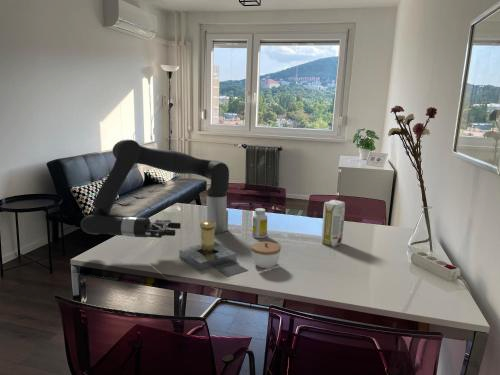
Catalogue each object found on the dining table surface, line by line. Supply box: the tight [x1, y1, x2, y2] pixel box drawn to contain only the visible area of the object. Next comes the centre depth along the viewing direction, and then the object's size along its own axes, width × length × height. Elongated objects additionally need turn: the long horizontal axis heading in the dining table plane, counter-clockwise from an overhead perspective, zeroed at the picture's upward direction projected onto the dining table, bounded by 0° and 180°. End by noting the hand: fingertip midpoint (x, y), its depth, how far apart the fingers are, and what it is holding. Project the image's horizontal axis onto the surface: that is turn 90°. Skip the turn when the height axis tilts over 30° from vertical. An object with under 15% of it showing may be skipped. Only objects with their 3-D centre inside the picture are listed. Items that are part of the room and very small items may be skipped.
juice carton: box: [321, 199, 346, 247], centre depth 166 cm, size 8×9×19 cm
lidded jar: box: [251, 241, 281, 270], centre depth 141 cm, size 11×11×9 cm
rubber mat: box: [213, 261, 249, 278], centre depth 138 cm, size 9×9×1 cm
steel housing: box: [178, 240, 237, 272], centre depth 146 cm, size 16×16×4 cm
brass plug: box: [199, 219, 216, 256], centre depth 145 cm, size 6×6×14 cm
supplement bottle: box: [252, 207, 268, 239], centre depth 173 cm, size 7×7×13 cm
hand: (177, 229), depth 144 cm, fingers open, 8 cm apart
